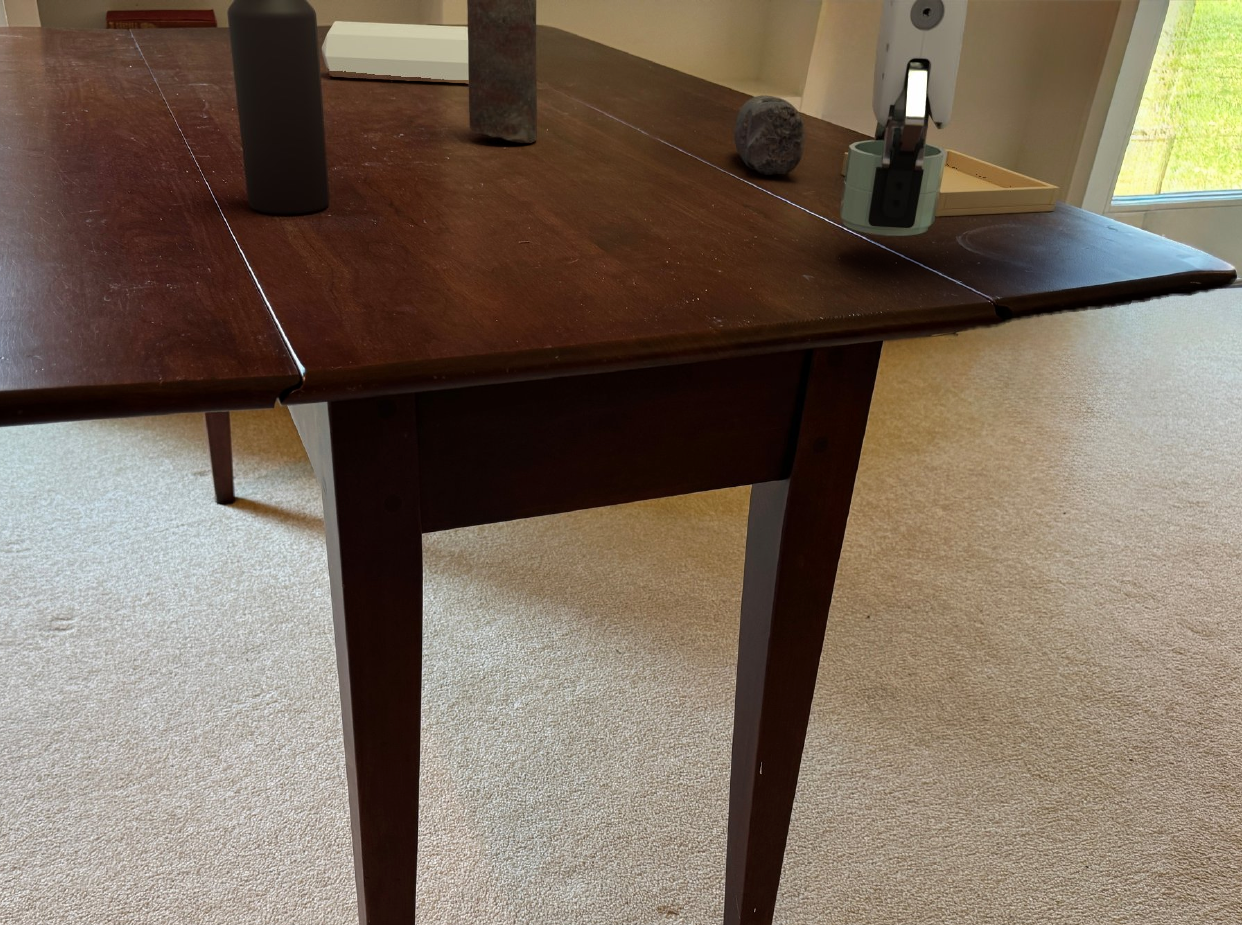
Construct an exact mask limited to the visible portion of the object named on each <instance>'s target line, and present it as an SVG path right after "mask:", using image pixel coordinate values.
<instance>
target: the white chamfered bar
mask: <svg viewBox="0 0 1242 925" xmlns="http://www.w3.org/2000/svg"><path fill="white" fill-rule="evenodd" d="M321 54H322V58H323V61H324V65H325V67H327V68H328V69H329V71H343V72H344V71H346V72H356V73H367V74H375V75H391V76H401V77H421V78H431V79H441V80H442V79H444V80H469V76H468V26H455V25H435V24H432V25H431V24H412V23H409V24H407V23H386V22H368V21H367V22H366V21H365V22H363V21H344V20H343V21H342V20H341V21H339V20H335V21H334V22H333V23H332V26H331V27H330V28H329V30H328V32H327V33H326V36H325V38H324V41H323V43H322V46H321ZM327 68H326V69H327Z"/></svg>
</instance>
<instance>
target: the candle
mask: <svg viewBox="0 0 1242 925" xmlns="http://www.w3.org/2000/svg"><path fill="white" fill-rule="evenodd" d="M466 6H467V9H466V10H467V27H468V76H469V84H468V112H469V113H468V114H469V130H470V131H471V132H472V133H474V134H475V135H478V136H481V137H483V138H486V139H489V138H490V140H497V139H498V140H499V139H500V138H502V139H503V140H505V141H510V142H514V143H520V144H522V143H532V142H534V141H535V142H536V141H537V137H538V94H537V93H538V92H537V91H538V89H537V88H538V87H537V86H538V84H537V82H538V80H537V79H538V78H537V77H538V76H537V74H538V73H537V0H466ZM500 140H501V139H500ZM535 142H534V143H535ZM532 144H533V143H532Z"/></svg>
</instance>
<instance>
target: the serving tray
mask: <svg viewBox="0 0 1242 925" xmlns="http://www.w3.org/2000/svg"><path fill="white" fill-rule="evenodd" d="M944 150H945V151H946V152H947V156H946V161H945V166H944V172H943V177H942V182H941V187H940V193H939V198H938V204H937V209H936V214H935V218H936V217H938V218H939V217H955V216H957V217H959V216H977V215H978V216H979V215H997V214H1020V213H1021V214H1023V213H1041V212H1053V211H1054V210H1055V207H1056V204H1057V200H1058V196H1059V192H1060V186H1056V185H1054V184H1051V183H1048V182H1044V181H1042V180H1039V179H1036V178H1034V177H1031V176H1027V175H1025V174H1022V173H1019V172H1016V171H1013V170H1010V169H1008V168H1005V167H1002V166H999V165H996V164H993V163H990V162H987V161H984V160H982V159H979V158H976V157H974V156H971V155H967V154H964V153H961V152H959V151H956V150H953V149H944ZM847 157H848V152H844V154H843V161H842V167H841V175H842V176H844V177H845V172H846V165H847ZM947 164H948V165H949V166H948V165H947ZM952 167H955V168H952ZM956 168H957V169H956ZM976 174H977V175H976ZM979 176H981V177H979ZM983 177H986V178H983ZM1010 186H1011V187H1010Z"/></svg>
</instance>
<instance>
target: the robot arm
mask: <svg viewBox="0 0 1242 925" xmlns="http://www.w3.org/2000/svg"><path fill="white" fill-rule="evenodd" d="M968 3H969V0H882V6H881V13H880V21H879V28H878V35H877V41H876V51H875V61H874V71H873V82H872V83H873V85H872V102H871V103H872V104H871V106H872V111H873V114H874V118H875V121H877V122H876V127H875V133H874V139H873V140H884V143H883V151H882V160H881V167H876V172H875V179H874V185H873V192H872V198H871V205H870V211H869V217H868V221H869V224H870V225H871V226H879V227H896V228H911V227H912V226H913V225H914V223H915V218H916V212H917V206H918V201H919V195H920V190H921V184H922V178H923V173H924V170H923V169H922V167H923V161H924V153H925V145H926V144H927V135H928V129H929V119H931V121H932V123H933V124H934V126H935V127H936V129H937V130H944V129H945V128H946V127H948V126H949V125H950V123H951V120H952V112H953V106H954V99H955V92H956V84H957V79H958V73H959V66H960V59H961V52H962V48H963V40H964V35H965V28H966V20H967V12H968ZM892 147H893V148H892Z"/></svg>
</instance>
